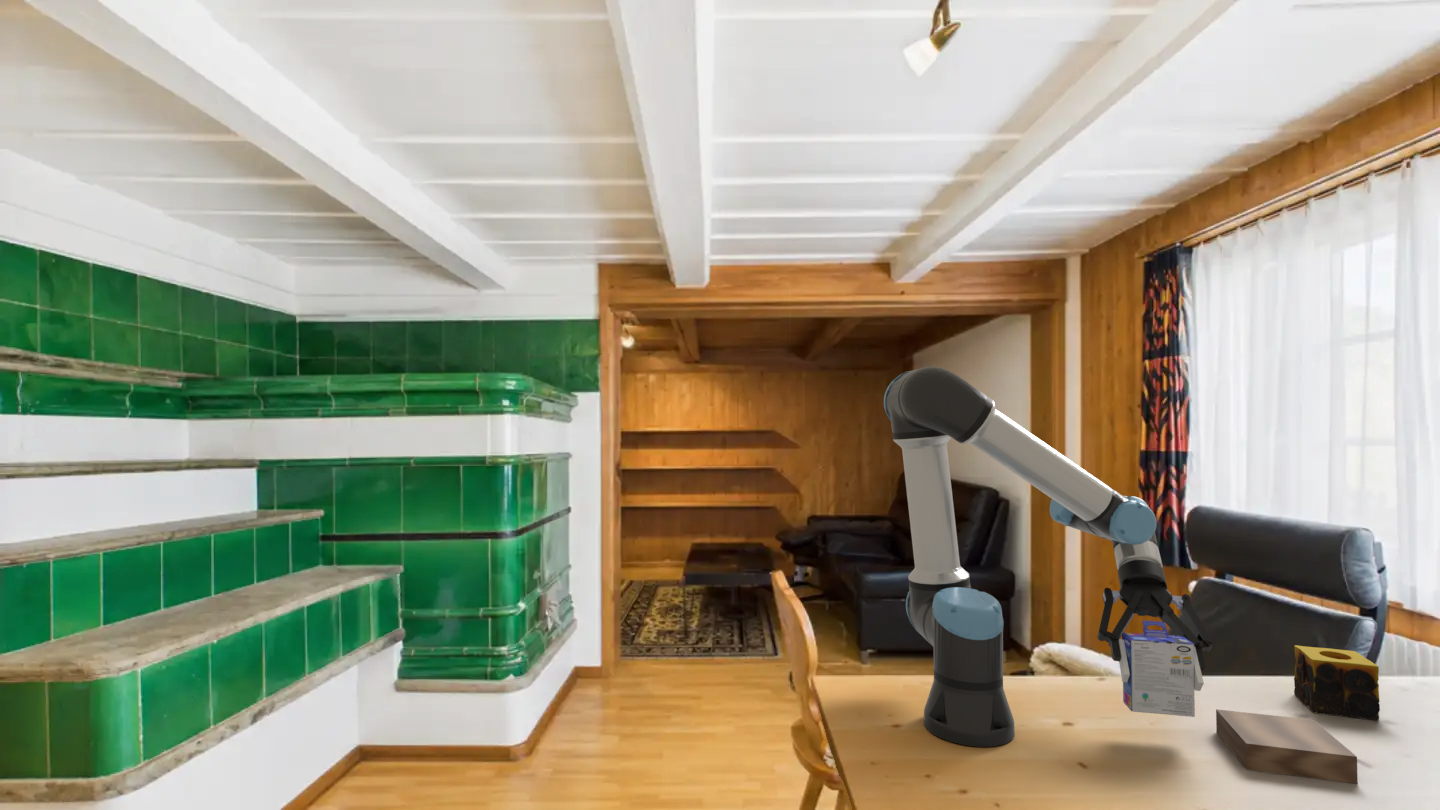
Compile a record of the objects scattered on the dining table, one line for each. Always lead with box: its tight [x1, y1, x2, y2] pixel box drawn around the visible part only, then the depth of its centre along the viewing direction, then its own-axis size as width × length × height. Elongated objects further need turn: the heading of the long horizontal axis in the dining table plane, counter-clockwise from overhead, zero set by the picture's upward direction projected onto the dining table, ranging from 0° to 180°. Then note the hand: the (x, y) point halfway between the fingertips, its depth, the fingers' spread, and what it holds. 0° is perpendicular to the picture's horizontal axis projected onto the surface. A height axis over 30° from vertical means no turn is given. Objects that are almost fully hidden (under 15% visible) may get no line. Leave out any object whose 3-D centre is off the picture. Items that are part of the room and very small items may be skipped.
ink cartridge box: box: [1121, 620, 1196, 718], centre depth 122 cm, size 10×6×14 cm, turn 78°
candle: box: [1293, 644, 1381, 721], centre depth 136 cm, size 10×10×10 cm
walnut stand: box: [1215, 708, 1359, 785], centre depth 116 cm, size 14×14×4 cm
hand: (1162, 682), depth 119 cm, fingers closed on ink cartridge box, 10 cm apart
